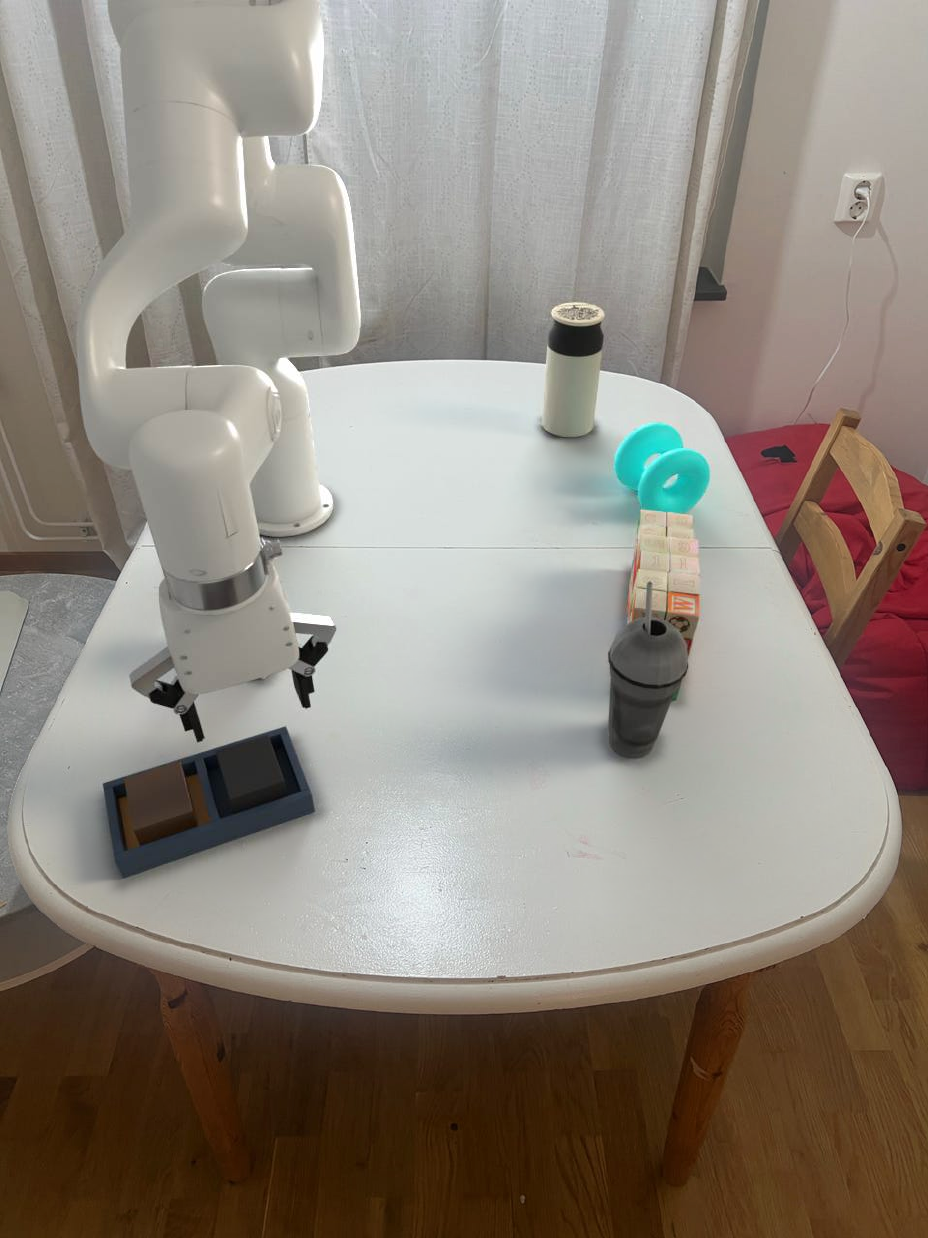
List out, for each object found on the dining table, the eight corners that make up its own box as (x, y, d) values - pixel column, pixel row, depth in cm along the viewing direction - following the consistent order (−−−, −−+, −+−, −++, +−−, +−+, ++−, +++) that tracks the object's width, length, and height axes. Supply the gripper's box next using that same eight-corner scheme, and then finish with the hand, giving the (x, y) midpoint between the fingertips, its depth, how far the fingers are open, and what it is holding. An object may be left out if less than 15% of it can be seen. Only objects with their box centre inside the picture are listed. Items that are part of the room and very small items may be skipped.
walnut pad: (132, 799, 79) (123, 778, 77) (187, 782, 80) (180, 760, 78) (142, 851, 75) (133, 830, 73) (199, 832, 76) (192, 810, 74)
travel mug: (595, 439, 129) (609, 323, 117) (543, 438, 129) (551, 323, 117) (590, 413, 135) (603, 301, 123) (540, 413, 135) (548, 300, 123)
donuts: (669, 476, 122) (682, 413, 115) (705, 515, 115) (721, 450, 108) (606, 488, 119) (615, 424, 113) (639, 528, 112) (650, 462, 106)
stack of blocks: (629, 569, 106) (644, 485, 98) (680, 576, 105) (700, 492, 97) (617, 693, 90) (634, 606, 82) (677, 702, 89) (700, 615, 81)
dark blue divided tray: (110, 800, 80) (102, 783, 78) (289, 742, 85) (285, 725, 83) (122, 878, 74) (114, 862, 72) (315, 812, 79) (312, 794, 77)
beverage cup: (650, 781, 82) (688, 628, 68) (581, 749, 85) (605, 596, 71) (678, 732, 86) (719, 579, 73) (612, 703, 89) (640, 551, 76)
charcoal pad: (221, 772, 82) (215, 750, 79) (272, 755, 83) (267, 734, 81) (235, 820, 77) (229, 799, 75) (289, 802, 79) (284, 781, 77)
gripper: (310, 516, 71) (330, 659, 82) (92, 568, 66) (147, 713, 77) (337, 569, 66) (355, 713, 78) (104, 631, 61) (161, 775, 72)
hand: (251, 713), depth 77 cm, fingers open, 9 cm apart
